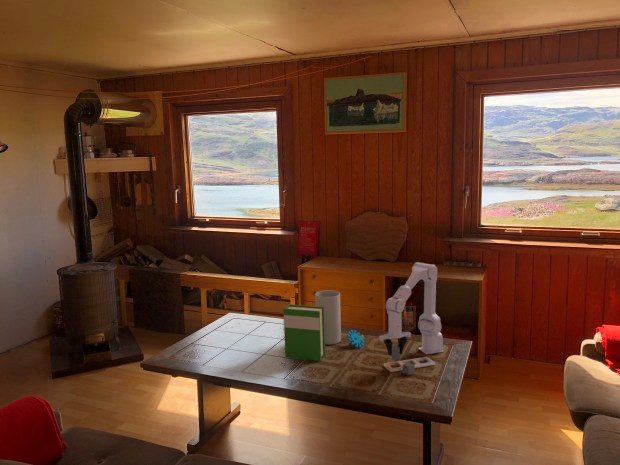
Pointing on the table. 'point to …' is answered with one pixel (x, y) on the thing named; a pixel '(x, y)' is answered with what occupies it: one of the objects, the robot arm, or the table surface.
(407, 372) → the grey wood-grain cube
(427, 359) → the square hole plate
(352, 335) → the gear
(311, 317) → the hardback book
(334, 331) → the cylinder vase
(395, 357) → the dark square post
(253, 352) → the table surface
